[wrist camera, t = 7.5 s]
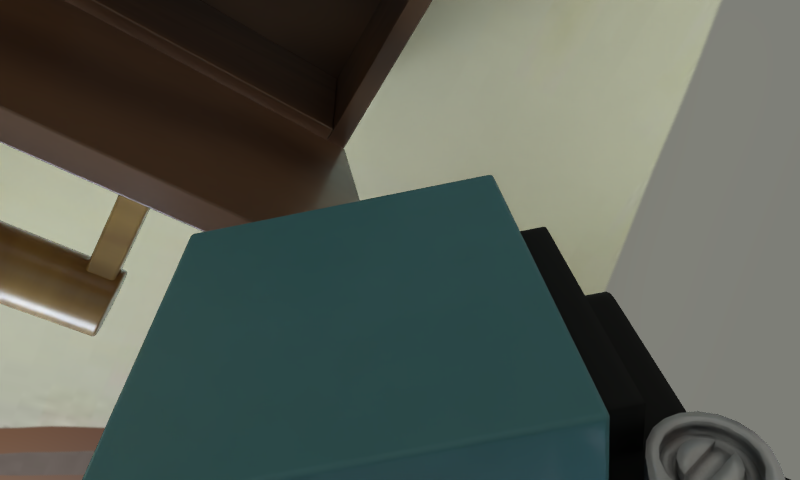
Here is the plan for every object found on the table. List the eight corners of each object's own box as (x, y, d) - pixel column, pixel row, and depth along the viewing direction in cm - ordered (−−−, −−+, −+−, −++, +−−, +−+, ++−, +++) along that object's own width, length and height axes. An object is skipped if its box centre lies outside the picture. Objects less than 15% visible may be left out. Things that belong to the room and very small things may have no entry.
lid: (-525, -136, 9) (-553, 173, 10) (385, 282, 14) (283, 446, 15) (-53, -62, 20) (-96, 75, 21) (344, 149, 25) (289, 249, 27)
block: (190, 232, 9) (61, 517, 5) (492, 172, 9) (612, 416, 5) (279, 433, 12) (242, 730, 8) (516, 389, 12) (609, 668, 8)
